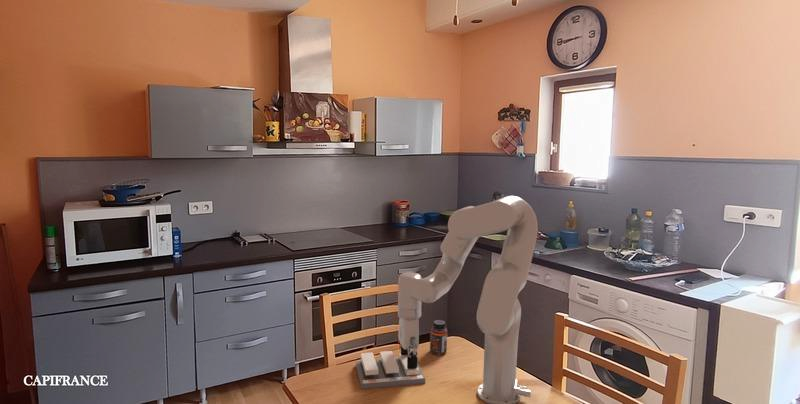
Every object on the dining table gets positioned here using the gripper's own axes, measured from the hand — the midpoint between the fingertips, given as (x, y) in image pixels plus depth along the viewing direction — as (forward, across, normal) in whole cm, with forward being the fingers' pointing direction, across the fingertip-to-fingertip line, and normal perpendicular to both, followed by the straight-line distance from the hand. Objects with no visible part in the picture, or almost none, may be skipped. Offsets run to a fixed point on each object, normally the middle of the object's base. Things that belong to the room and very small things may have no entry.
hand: (408, 361), depth 161 cm
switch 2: (+2, 0, 0) cm, 2 cm away
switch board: (+3, +1, -7) cm, 7 cm away
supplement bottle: (+4, -12, +13) cm, 18 cm away
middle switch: (0, 0, -7) cm, 7 cm away
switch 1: (0, 0, -13) cm, 13 cm away
